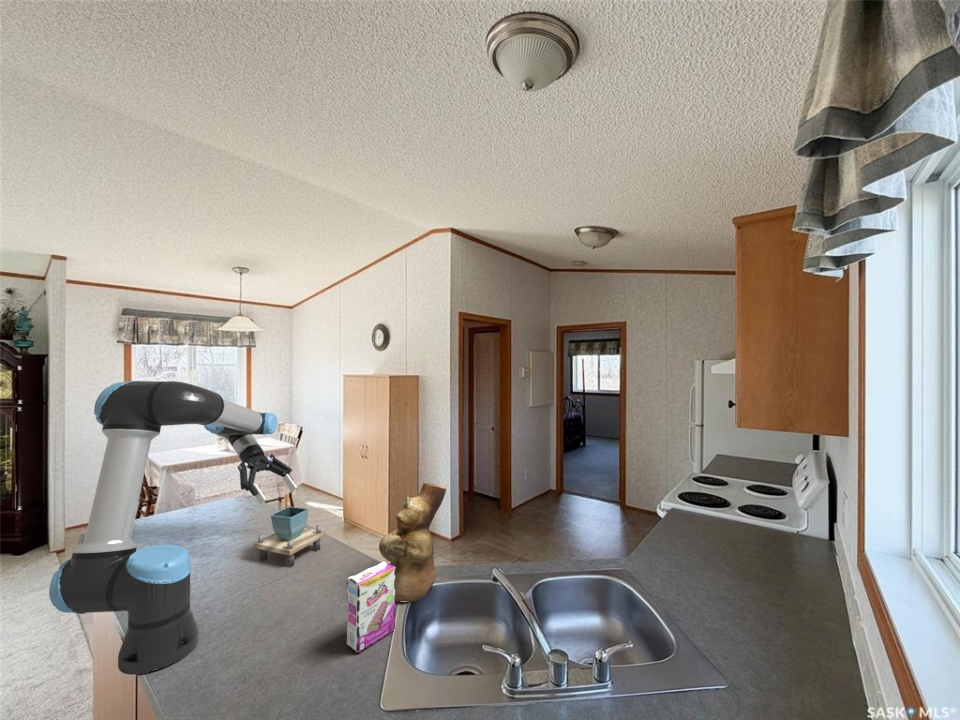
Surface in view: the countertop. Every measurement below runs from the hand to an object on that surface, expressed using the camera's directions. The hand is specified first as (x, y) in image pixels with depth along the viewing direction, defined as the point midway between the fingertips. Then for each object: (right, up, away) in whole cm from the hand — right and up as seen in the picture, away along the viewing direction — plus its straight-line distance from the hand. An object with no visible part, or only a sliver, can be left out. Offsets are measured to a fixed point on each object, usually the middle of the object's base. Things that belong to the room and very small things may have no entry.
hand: (279, 495), depth 148 cm
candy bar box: (+45, -20, -46) cm, 67 cm away
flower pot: (+5, -14, -2) cm, 15 cm away
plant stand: (+5, -20, -2) cm, 21 cm away
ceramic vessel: (+52, -20, -22) cm, 60 cm away
